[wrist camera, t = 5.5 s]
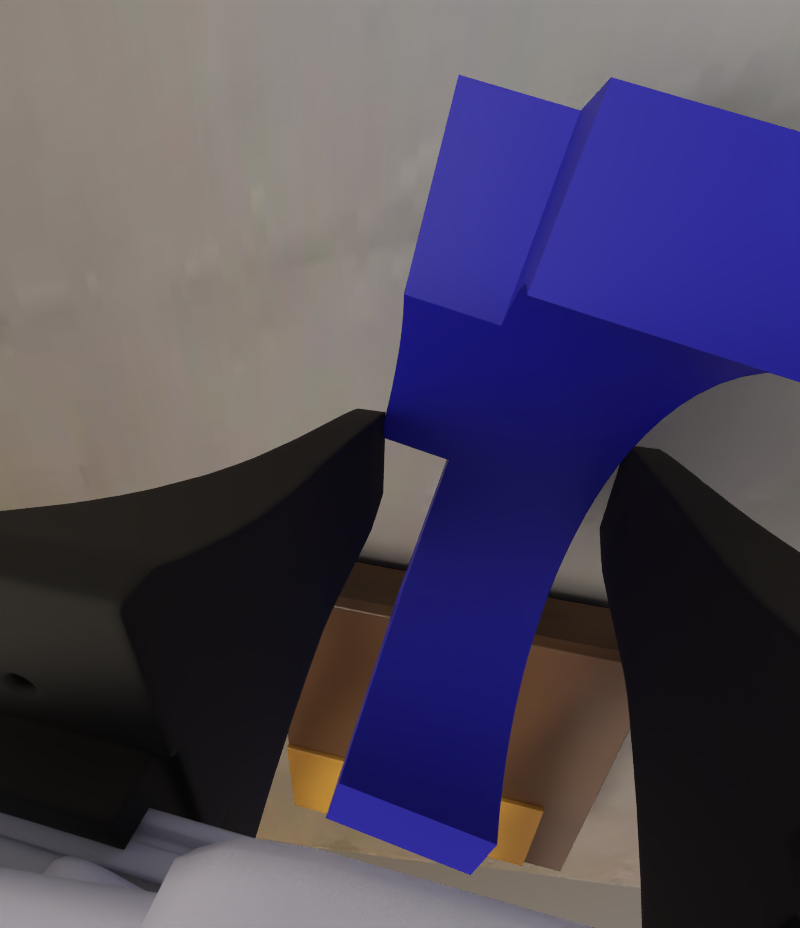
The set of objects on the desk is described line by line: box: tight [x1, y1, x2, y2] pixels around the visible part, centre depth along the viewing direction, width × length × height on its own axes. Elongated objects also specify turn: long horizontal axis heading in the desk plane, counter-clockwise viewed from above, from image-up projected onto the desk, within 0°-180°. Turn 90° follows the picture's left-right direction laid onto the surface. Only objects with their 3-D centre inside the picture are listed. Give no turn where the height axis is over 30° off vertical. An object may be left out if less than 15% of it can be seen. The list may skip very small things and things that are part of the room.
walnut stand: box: [287, 562, 630, 871], centre depth 25 cm, size 15×17×4 cm
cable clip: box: [326, 75, 800, 875], centre depth 9 cm, size 12×4×6 cm, turn 165°
